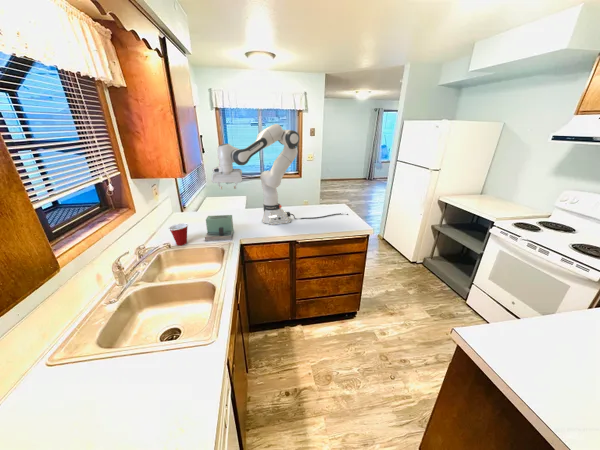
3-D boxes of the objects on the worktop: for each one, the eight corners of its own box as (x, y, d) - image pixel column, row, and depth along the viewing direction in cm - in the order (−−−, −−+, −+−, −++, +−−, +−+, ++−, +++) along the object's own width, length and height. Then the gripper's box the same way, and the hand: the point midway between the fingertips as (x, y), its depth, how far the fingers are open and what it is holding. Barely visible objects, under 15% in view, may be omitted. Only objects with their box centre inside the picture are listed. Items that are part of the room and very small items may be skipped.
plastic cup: (177, 240, 154) (174, 222, 150) (193, 240, 154) (191, 223, 149) (168, 247, 144) (164, 228, 140) (185, 247, 144) (182, 229, 139)
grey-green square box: (233, 230, 170) (232, 214, 166) (231, 239, 155) (229, 222, 151) (210, 231, 168) (208, 215, 163) (205, 241, 153) (203, 223, 149)
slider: (223, 232, 158) (223, 227, 157) (223, 234, 155) (222, 228, 154) (220, 233, 158) (219, 227, 156) (219, 234, 155) (218, 229, 153)
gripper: (242, 167, 167) (243, 187, 171) (211, 168, 163) (214, 188, 168) (241, 169, 161) (243, 189, 166) (209, 169, 158) (212, 190, 162)
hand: (228, 188), depth 167 cm, fingers open, 8 cm apart
